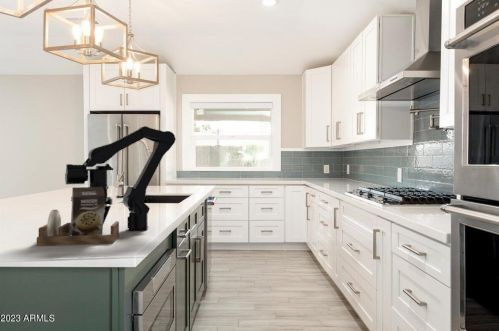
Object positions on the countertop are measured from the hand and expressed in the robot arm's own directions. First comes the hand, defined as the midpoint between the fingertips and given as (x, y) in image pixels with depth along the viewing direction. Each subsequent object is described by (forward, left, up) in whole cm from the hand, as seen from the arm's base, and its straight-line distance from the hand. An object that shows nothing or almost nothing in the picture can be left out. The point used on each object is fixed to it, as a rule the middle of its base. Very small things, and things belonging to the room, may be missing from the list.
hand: (98, 228), depth 126 cm
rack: (0, +11, -2) cm, 11 cm away
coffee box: (+2, +9, -1) cm, 9 cm away
